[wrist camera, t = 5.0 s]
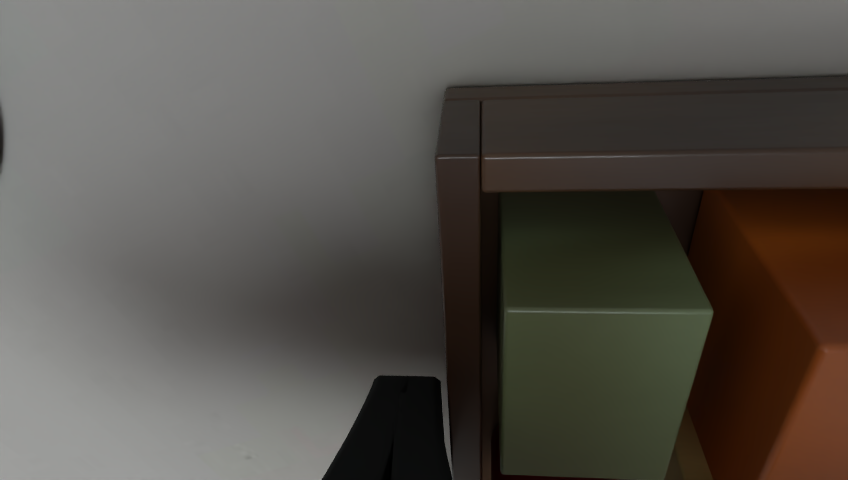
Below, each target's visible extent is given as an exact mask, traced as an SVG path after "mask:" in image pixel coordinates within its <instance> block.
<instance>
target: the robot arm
mask: <svg viewBox="0 0 848 480" xmlns="http://www.w3.org/2000/svg"><path fill="white" fill-rule="evenodd" d="M322 480H452V475H451V471H450V467H449V462H448V458H447V453H446V448H445V443H444V428H443V412H442V396H441V381H440V380H438V379H437V378H436V377H425V376H383V375H380V376H378V377H377V378H376V379H374V382H373V384H372V387H371V389H370V391H369V394H368V396H367V398H366V400H365V402H364V404H363V406H362V409H361V411H360V413H359V415H358V417H357V419H356V420H355V422H354V424H353V426H352V428H351V430H350V432H349V434H348V436H347V437H346V439H345V441H344V443H343V444H342V446H341V448H340V450H339V451H338V453H337V455H336V456H335V458H334V460H333V462H332V463H331V465H330V467H329V469H328V470H327V472H326V474H325V475H324V477H323V478H322Z"/></svg>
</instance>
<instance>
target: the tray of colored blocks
mask: <svg viewBox="0 0 848 480" xmlns="http://www.w3.org/2000/svg"><path fill="white" fill-rule="evenodd" d="M435 170H436V188H437V206H438V225H439V243H440V261H441V280H442V298H443V316H444V335H445V353H446V371H447V390H448V408H449V426H450V445H451V463H452V480H848V76H843V77H809V78H775V79H741V80H707V81H673V82H639V83H605V84H571V85H537V86H503V87H469V88H448V89H446V91H445V95H444V102H443V107H442V113H441V120H440V126H439V133H438V140H437V146H436V153H435Z"/></svg>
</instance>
